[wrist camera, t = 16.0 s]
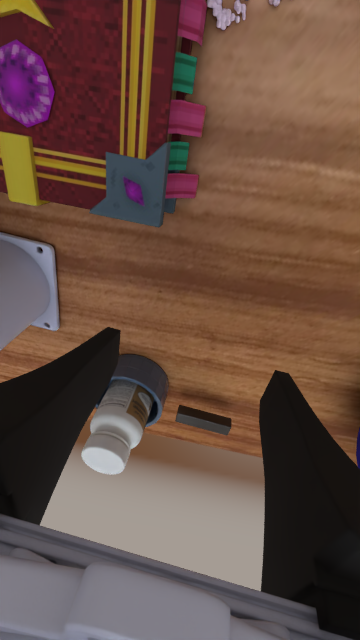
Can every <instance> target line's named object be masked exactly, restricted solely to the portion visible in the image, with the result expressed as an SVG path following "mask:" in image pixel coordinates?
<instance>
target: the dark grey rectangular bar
mask: <svg viewBox="0 0 360 640" xmlns="http://www.w3.org/2000/svg"><path fill="white" fill-rule="evenodd" d="M175 421H176V422H180V423H183V424H187V425H191V426H194V427H198V428H202V429H205V430H209V431H213V432H216V433H220V434H224V435H228V433H229V431H230V429H231V418H227V417H223V416H220V415H216V414H212V413H208V412H205V411H201V410H197V409H193V408H190V407H186V406H182V405H179V408H178V412H177V416H176V420H175Z"/></svg>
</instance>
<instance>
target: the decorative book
mask: <svg viewBox="0 0 360 640" xmlns="http://www.w3.org/2000/svg"><path fill="white" fill-rule="evenodd" d="M206 11H207V4H206V2H205V0H0V192H4V193H8V195H9V201H13V202H18V203H23V204H28V205H33V206H39V205H42V204H46V203H49V202H55V203H60V204H65V205H70V206H75V207H80V208H85V209H90V212H89V213H92V214H96V215H101V216H106V217H111V218H116V219H121V220H126V221H130V222H135V223H140V224H145V225H150V226H155V227H160V226H161V225H162V224H163V215H164V212H167V213H172V214H173V213H174V211H175V205H176V198H195V197H196V191H197V185H198V179H199V175H195V174H182V173H179V171H180V170H186V165H187V157H188V150H189V143H187V142H180V137H181V134H184V135H190V136H196V137H202V130H203V124H204V118H205V111H206V106H204V105H199V104H195V103H191V102H187V101H185V96H186V93H189V94H193V86H194V79H195V71H196V63H197V58H196V57H193V56H190V55H191V47H192V40H193V41H196V42H198V43H199V44H200V45H201V47H202V40H203V33H204V26H205V18H206Z"/></svg>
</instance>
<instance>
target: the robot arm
mask: <svg viewBox="0 0 360 640" xmlns="http://www.w3.org/2000/svg"><path fill="white" fill-rule="evenodd" d="M39 247H41V248H42V250H43V252H42V251H41V250H40V248H39ZM47 323H48V324H49V325H48V324H47ZM29 325H33V326H37V327H41V328H45V329H49V330H52V331H56V330H58V329H59V327H60V321H59V306H58V292H57V278H56V264H55V251H54V248H53V247H52V246H51V245H50V244H47V243H43V242H39V241H35V240H30V239H26V238H22V237H18V236H14V235H10V234H6V233H2V232H0V351H1V350H2V349H3V348H4V347H5V346H6V345H7V344H9V343H10V342H11V341H12V340H13V339H14V338H15V337H17V336H18V335H19V334H20V333H21V332H22V331H24V330H25V329H26V328H27V327H28V326H29ZM120 332H121V330H118V329H114V328H110V327H107V328H105V329H104V330H102V331H101V332H99V333H98V334H97V335H95V336H94V337H92V338H91V339H89V340H88V341H86V342H85V343H83V344H81V345H80V346H78V347H77V348H75V349H73V350H72V351H70V352H68V353H67V354H65V355H63V356H61V357H60V358H58V359H56V360H54V361H52V362H50V363H48V364H46V365H44V366H42V367H40V368H38V369H36V370H33V371H31V372H29V373H26V374H24V375H21V376H18V377H16V378H13V379H11V380H8V381H5V382H2V383H0V640H360V469H359V468H358V467H357V466H356V465H355V463H354V462H353V461H352V460H351V459H350V458H349V457H348V456H347V454H346V453H345V452H344V451H343V450H342V449H341V447H340V446H339V445H338V444H337V443H336V442H335V440H334V439H333V438H332V437H331V435H330V434H329V433H328V431H327V430H326V429H325V427H324V426H323V425H322V423H321V422H320V420H319V419H318V418H317V416H316V415H315V413H314V412H313V410H312V409H311V407H310V406H309V404H308V403H307V401H306V400H305V398H304V397H303V395H302V393H301V392H300V390H299V389H298V387H297V385H296V384H295V382H294V381H293V379H292V378H291V376H290V374H289V373H285V372H281V371H277V370H275V372H274V374H273V376H272V378H271V380H270V382H269V384H268V386H267V388H266V390H265V392H264V394H263V396H262V398H261V400H260V412H259V424H260V435H261V444H262V454H263V464H264V476H265V522H264V523H265V524H264V551H263V569H262V584H261V592H260V591H257V590H254V589H250V588H247V587H244V586H240V585H237V584H234V583H230V582H226V581H224V580H220V579H217V578H213V577H210V576H207V575H203V574H200V573H197V572H193V571H190V570H186V569H183V568H180V567H177V566H173V565H170V564H167V563H163V562H160V561H157V560H153V559H150V558H147V557H143V556H140V555H137V554H133V553H129V552H126V551H123V550H120V549H116V548H113V547H110V546H106V545H103V544H99V543H96V542H93V541H90V540H86V539H83V538H79V537H76V536H73V535H69V534H66V533H62V532H59V531H56V530H53V529H49V528H46V527H43V526H40V522H41V520H42V517H43V515H44V513H45V510H46V508H47V505H48V503H49V501H50V498H51V496H52V493H53V491H54V489H55V487H56V484H57V482H58V480H59V477H60V475H61V472H62V470H63V468H64V466H65V464H66V462H67V459H68V457H69V455H70V453H71V450H72V448H73V446H74V444H75V442H76V440H77V438H78V436H79V434H80V432H81V430H82V428H83V426H84V424H85V422H86V421H87V419H88V417H89V416H90V414H91V412H92V411H93V409H94V407H95V406H96V404H97V402H98V401H99V399H100V397H101V396H102V394H103V392H104V391H105V389H106V387H107V386H108V384H109V382H110V380H111V378H112V376H113V374H114V371H115V369H116V367H117V364H118V357H119V344H120Z"/></svg>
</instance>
